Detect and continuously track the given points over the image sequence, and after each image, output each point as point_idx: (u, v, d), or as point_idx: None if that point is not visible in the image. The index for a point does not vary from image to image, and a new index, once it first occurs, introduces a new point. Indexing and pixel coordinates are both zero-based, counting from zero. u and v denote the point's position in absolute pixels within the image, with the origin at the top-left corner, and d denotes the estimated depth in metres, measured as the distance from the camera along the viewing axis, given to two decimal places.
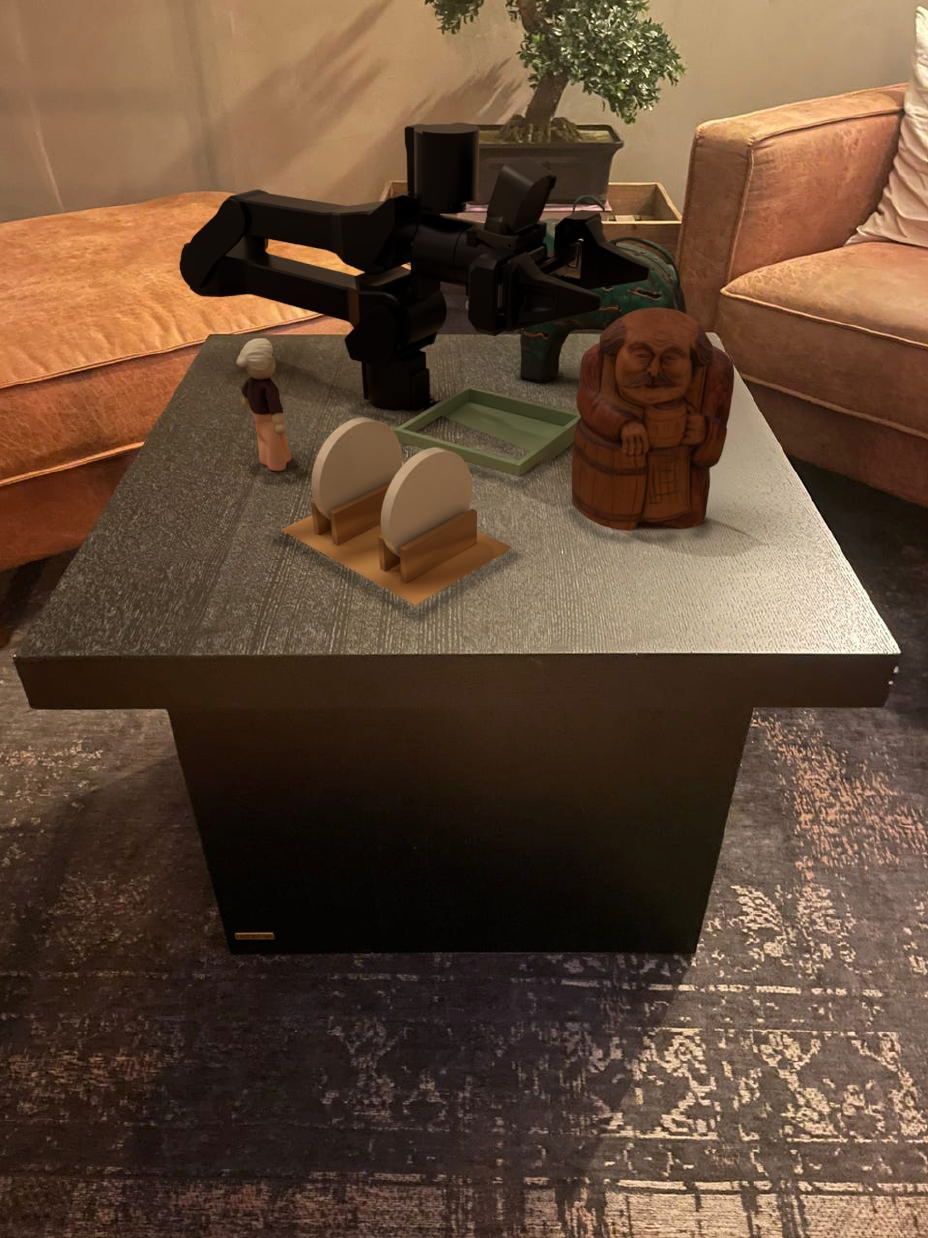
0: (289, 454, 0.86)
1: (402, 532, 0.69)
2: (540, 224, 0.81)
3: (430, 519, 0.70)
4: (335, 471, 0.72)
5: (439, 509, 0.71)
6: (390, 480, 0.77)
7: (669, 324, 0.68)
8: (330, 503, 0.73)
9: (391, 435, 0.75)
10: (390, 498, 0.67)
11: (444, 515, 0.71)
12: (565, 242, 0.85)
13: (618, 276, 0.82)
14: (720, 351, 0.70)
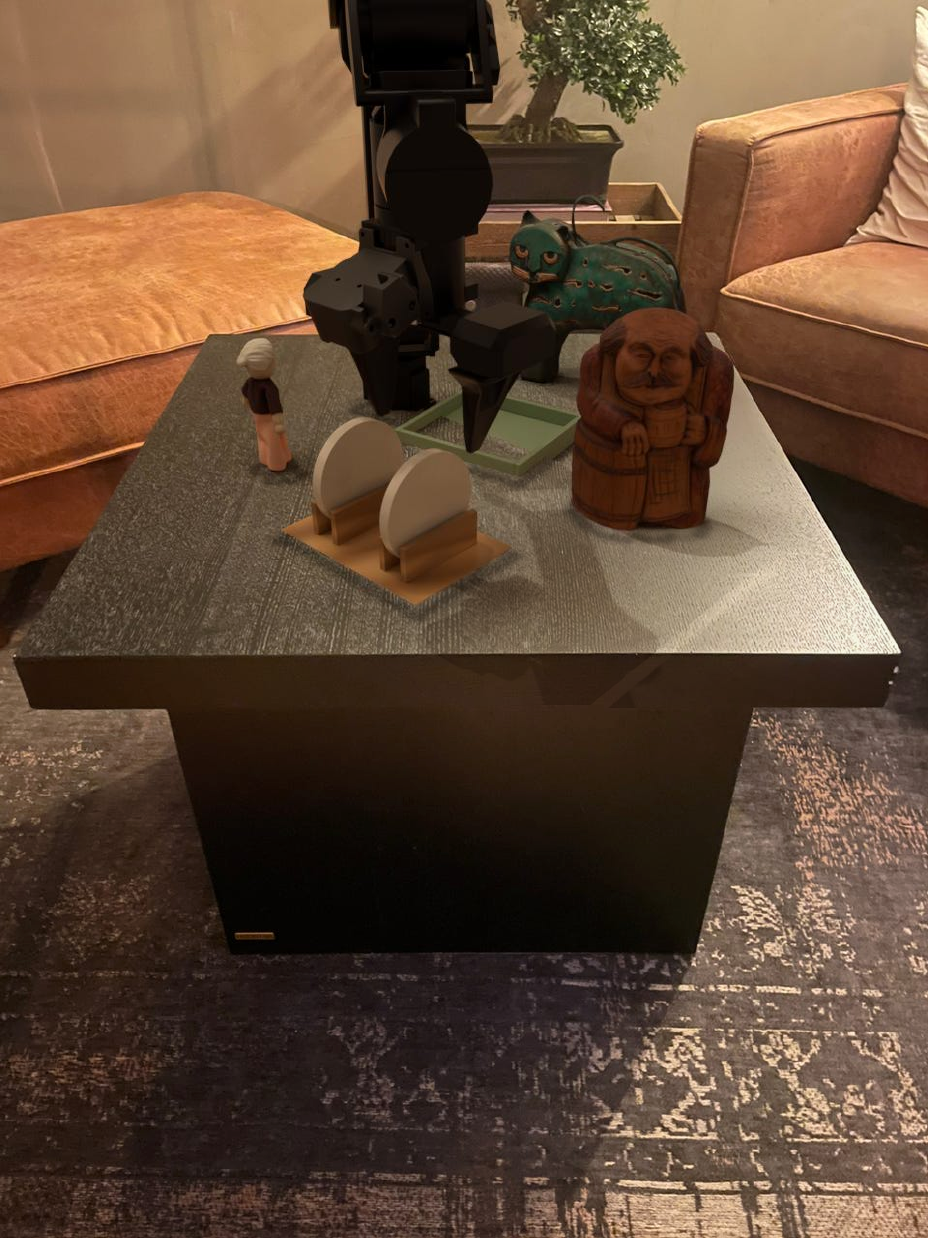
0: (289, 454, 0.86)
1: (401, 534, 0.69)
2: None
3: (429, 519, 0.70)
4: (336, 470, 0.72)
5: (438, 509, 0.71)
6: None
7: (669, 324, 0.68)
8: (331, 502, 0.73)
9: (393, 435, 0.75)
10: (388, 500, 0.67)
11: (443, 514, 0.71)
12: None
13: None
14: (720, 351, 0.70)
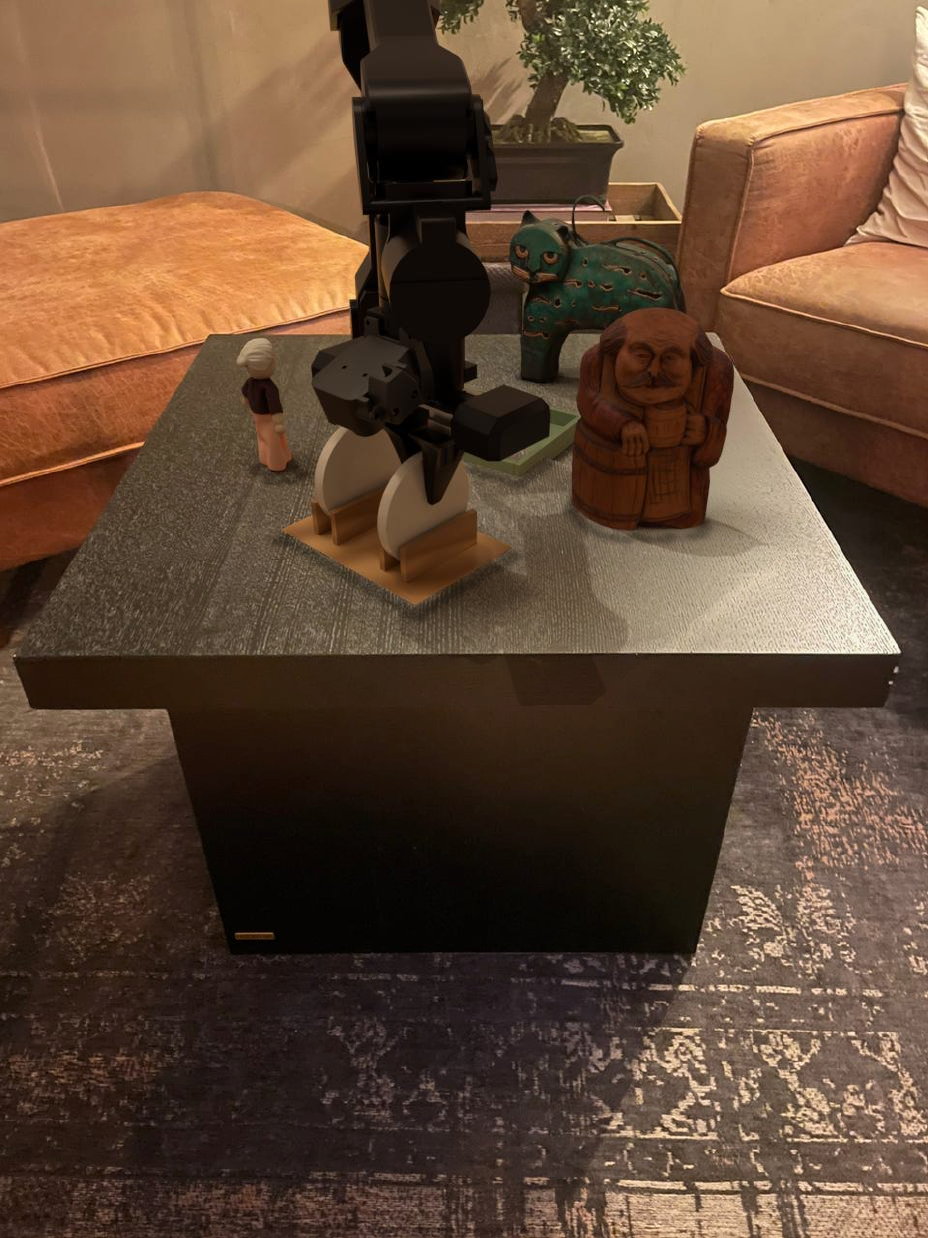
0: (289, 454, 0.86)
1: (400, 536, 0.69)
2: None
3: (428, 520, 0.70)
4: (339, 467, 0.72)
5: (436, 510, 0.71)
6: None
7: (669, 324, 0.68)
8: (332, 499, 0.73)
9: None
10: (385, 504, 0.67)
11: (441, 515, 0.71)
12: None
13: None
14: (720, 351, 0.70)
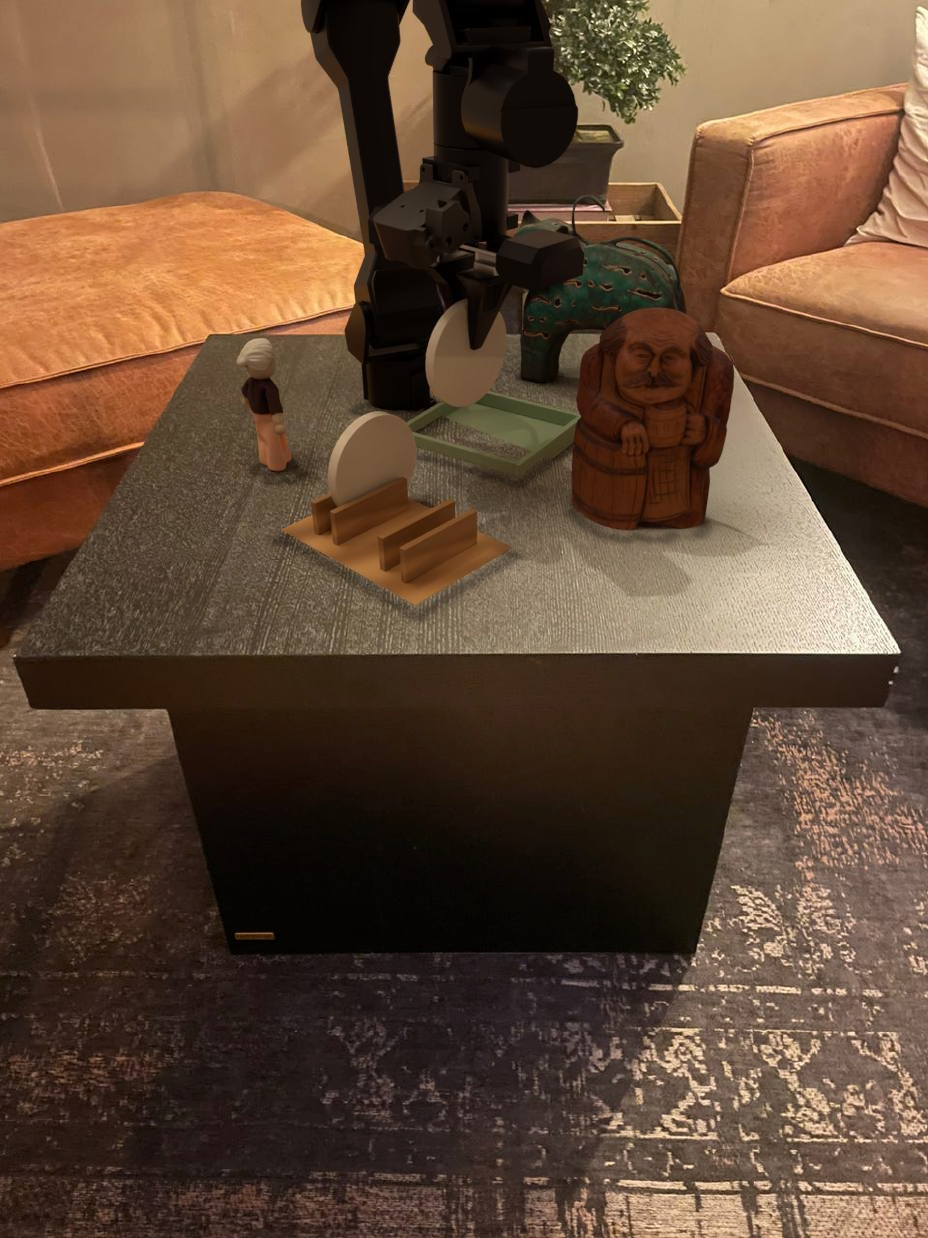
0: (289, 454, 0.86)
1: (445, 376, 0.76)
2: None
3: (469, 365, 0.78)
4: (357, 451, 0.73)
5: (477, 356, 0.78)
6: None
7: (669, 324, 0.68)
8: (343, 481, 0.73)
9: (412, 442, 0.77)
10: (433, 343, 0.74)
11: (481, 362, 0.79)
12: None
13: None
14: (720, 351, 0.70)
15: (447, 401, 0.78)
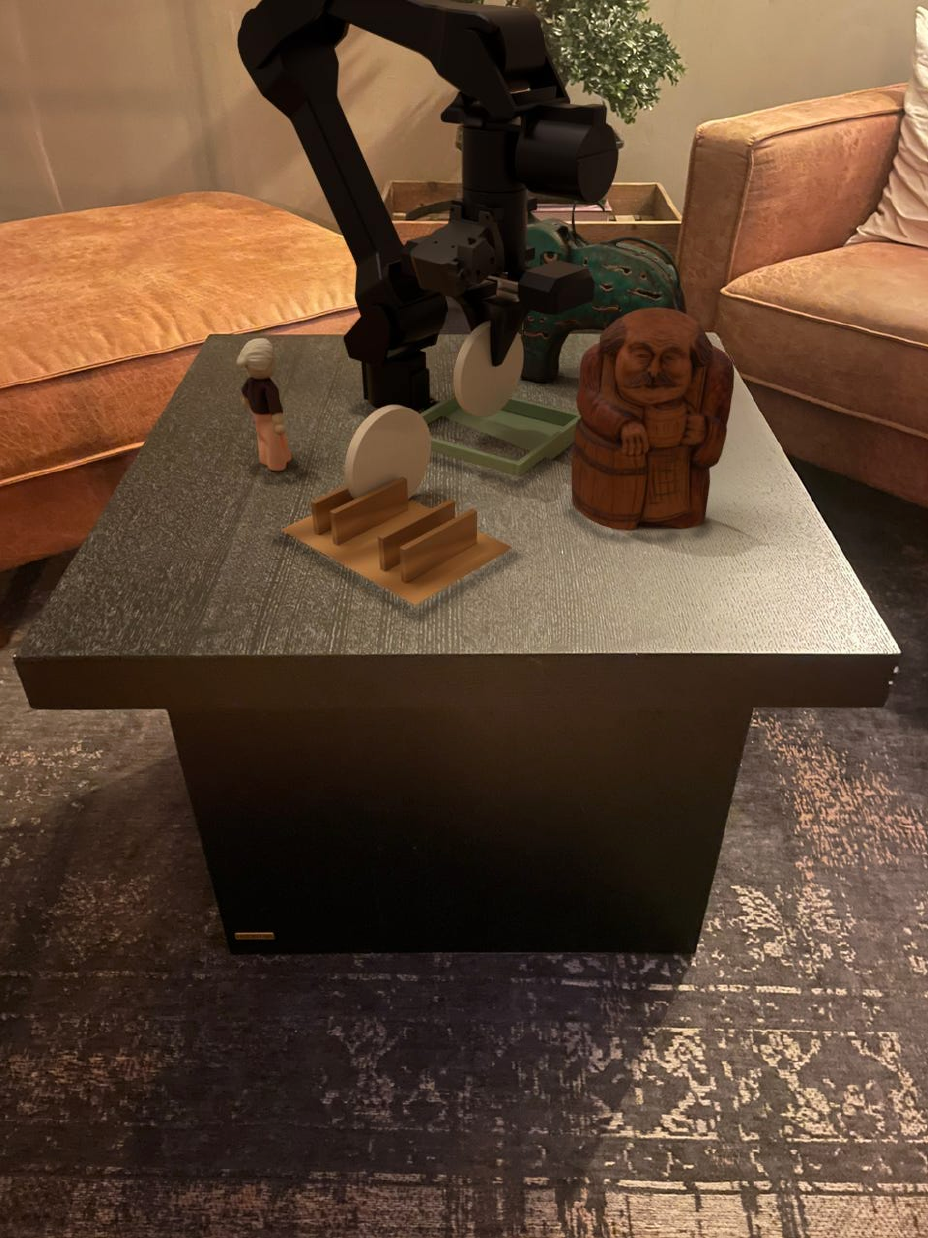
0: (289, 454, 0.86)
1: (470, 389, 0.86)
2: None
3: (491, 380, 0.88)
4: (382, 433, 0.74)
5: (498, 372, 0.88)
6: None
7: (668, 324, 0.68)
8: (362, 456, 0.74)
9: (427, 452, 0.79)
10: (461, 360, 0.84)
11: (502, 377, 0.89)
12: None
13: None
14: (720, 351, 0.70)
15: (472, 412, 0.87)
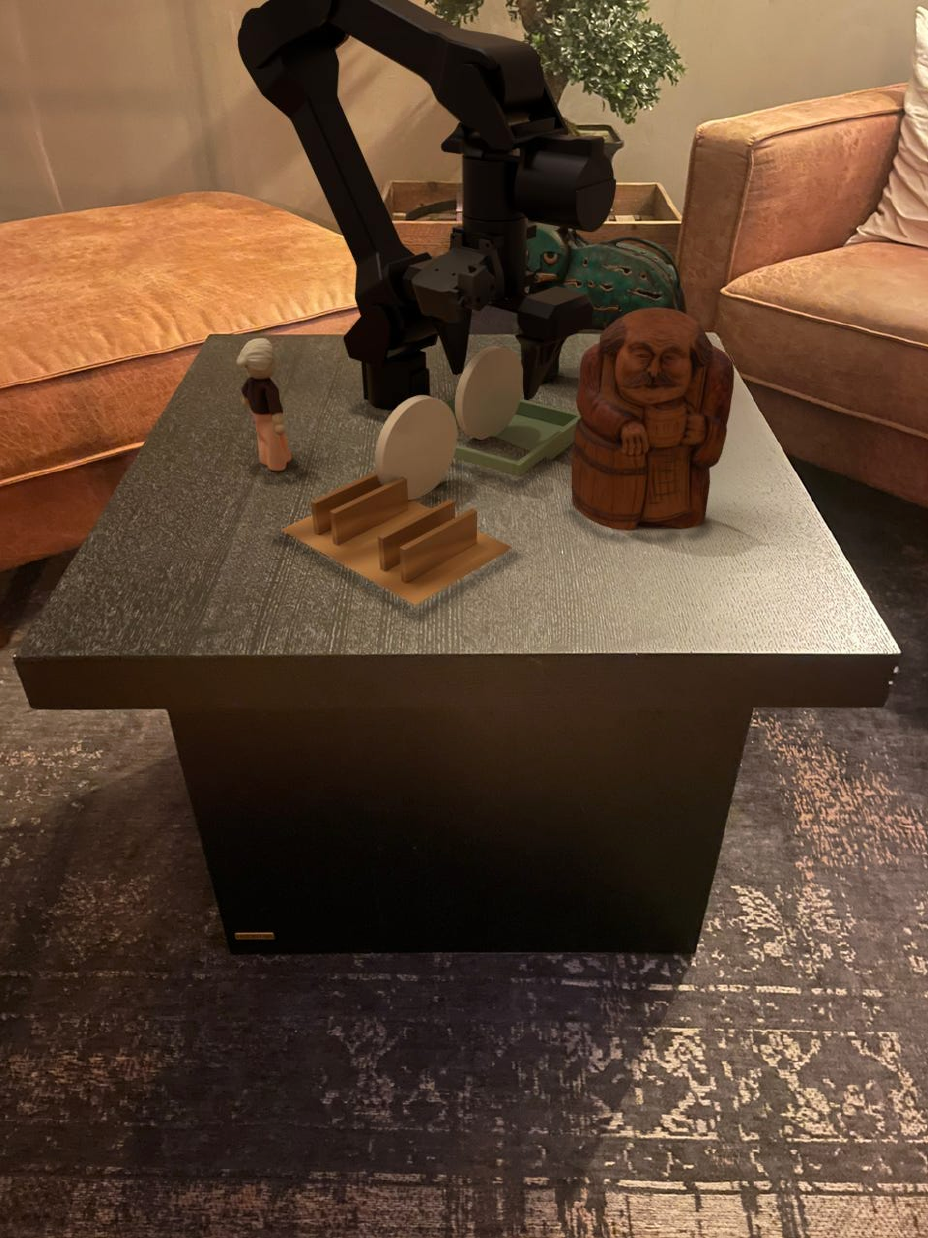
0: (289, 454, 0.86)
1: (471, 413, 0.87)
2: None
3: (492, 403, 0.89)
4: (430, 415, 0.78)
5: (499, 396, 0.89)
6: (411, 488, 0.80)
7: (668, 324, 0.68)
8: (408, 417, 0.76)
9: (443, 473, 0.82)
10: (462, 384, 0.85)
11: (502, 401, 0.90)
12: None
13: None
14: (720, 351, 0.70)
15: (472, 434, 0.89)
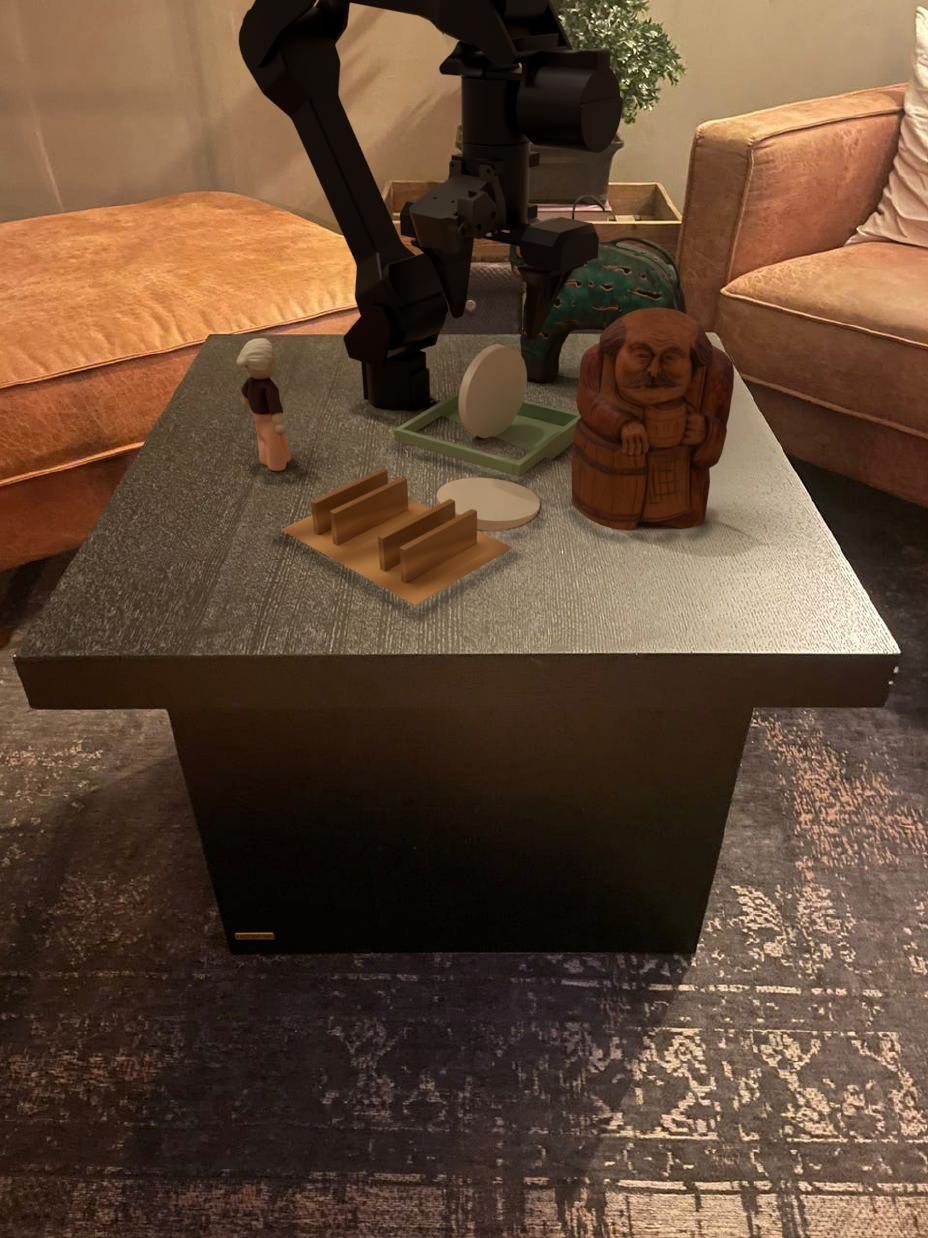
0: (289, 454, 0.86)
1: (474, 408, 0.87)
2: None
3: (495, 402, 0.89)
4: None
5: (502, 395, 0.90)
6: None
7: (668, 324, 0.68)
8: None
9: None
10: (468, 377, 0.86)
11: (504, 401, 0.90)
12: None
13: None
14: (720, 351, 0.70)
15: (473, 430, 0.89)
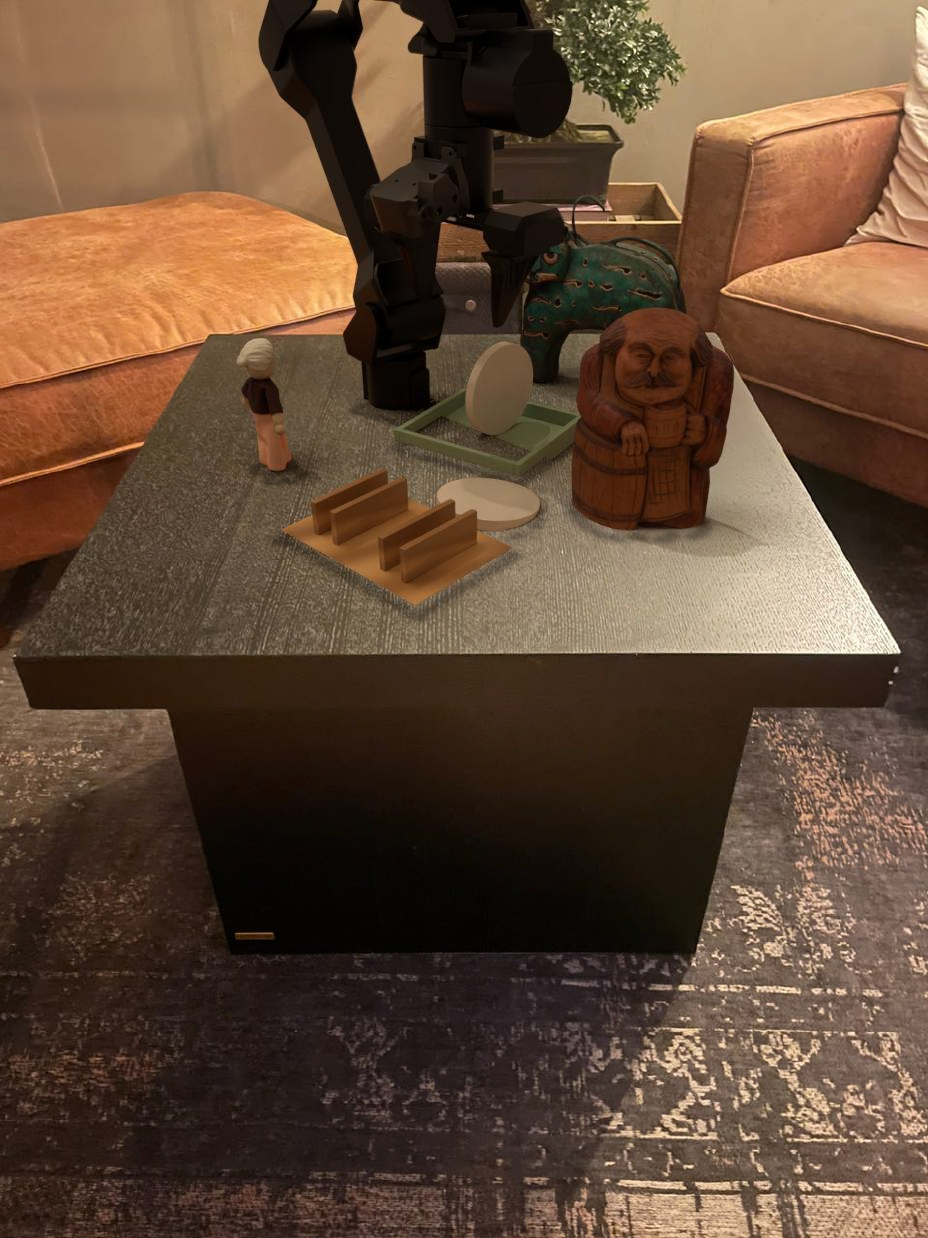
0: (289, 454, 0.86)
1: (481, 398, 0.87)
2: None
3: (500, 399, 0.90)
4: None
5: (507, 394, 0.90)
6: None
7: (668, 324, 0.68)
8: None
9: None
10: (479, 365, 0.86)
11: (509, 401, 0.91)
12: None
13: None
14: (720, 351, 0.70)
15: (477, 422, 0.89)
